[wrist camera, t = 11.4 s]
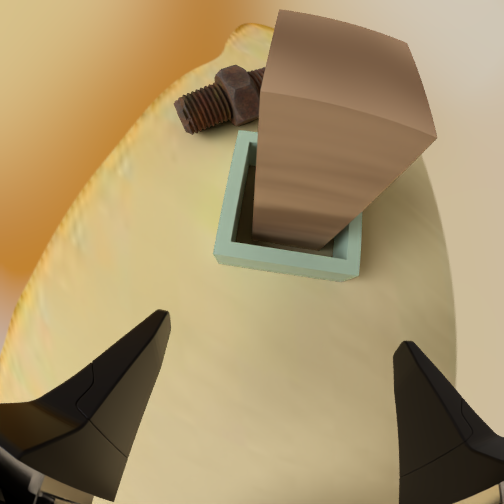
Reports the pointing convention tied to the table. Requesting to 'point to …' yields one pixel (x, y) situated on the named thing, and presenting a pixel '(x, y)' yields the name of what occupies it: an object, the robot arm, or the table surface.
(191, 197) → the table surface
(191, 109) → the bolt
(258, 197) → the peg
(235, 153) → the collar
